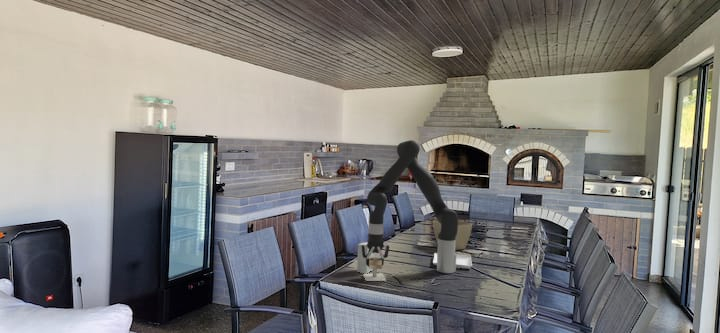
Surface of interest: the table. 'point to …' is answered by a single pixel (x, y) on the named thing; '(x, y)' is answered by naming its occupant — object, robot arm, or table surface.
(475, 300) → the table surface
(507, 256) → the table surface
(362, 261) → the skincare box
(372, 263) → the ring
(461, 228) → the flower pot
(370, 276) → the post
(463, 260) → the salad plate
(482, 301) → the table surface
